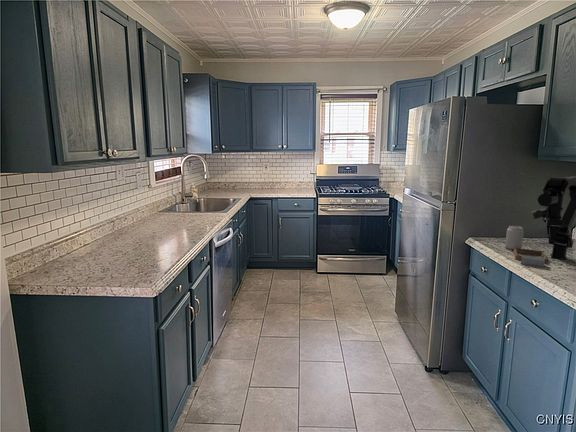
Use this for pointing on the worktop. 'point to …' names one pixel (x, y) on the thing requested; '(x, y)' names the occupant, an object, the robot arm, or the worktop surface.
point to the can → (514, 237)
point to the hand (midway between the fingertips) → (550, 236)
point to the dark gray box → (532, 261)
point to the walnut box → (528, 253)
